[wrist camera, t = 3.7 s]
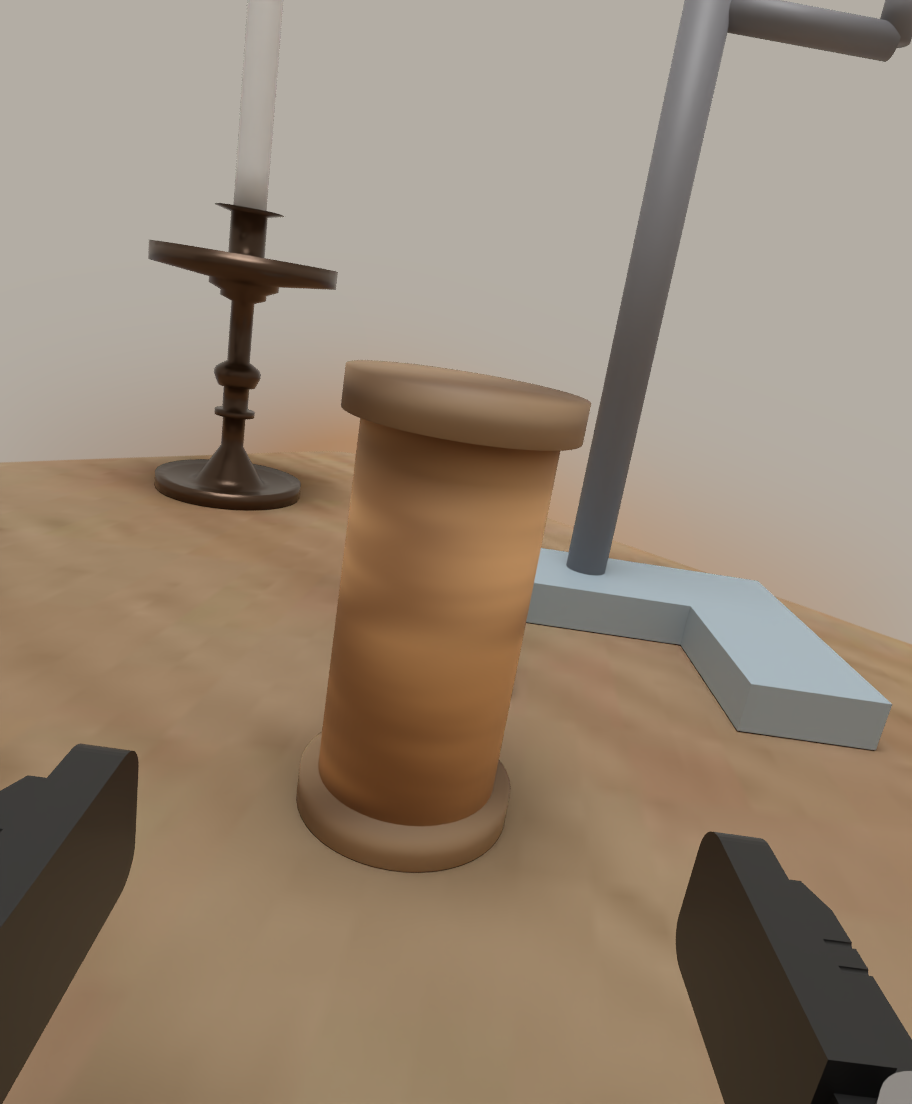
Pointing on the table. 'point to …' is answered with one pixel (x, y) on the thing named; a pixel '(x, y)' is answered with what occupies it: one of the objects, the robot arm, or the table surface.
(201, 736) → the table surface
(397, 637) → the cord spool
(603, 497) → the hook stand
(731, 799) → the table surface
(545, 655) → the table surface
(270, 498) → the candlestick
